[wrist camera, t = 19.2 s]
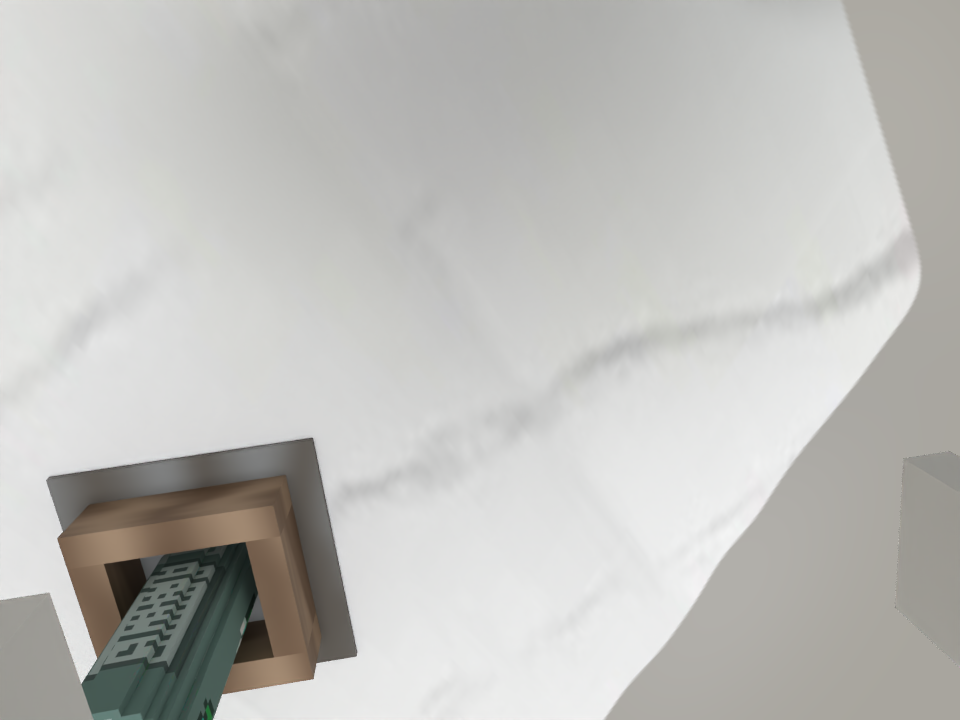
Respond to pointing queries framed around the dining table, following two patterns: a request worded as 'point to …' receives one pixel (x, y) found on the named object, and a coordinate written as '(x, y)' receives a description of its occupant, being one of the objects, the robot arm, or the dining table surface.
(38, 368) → the dining table surface
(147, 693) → the can
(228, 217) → the dining table surface
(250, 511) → the holder
